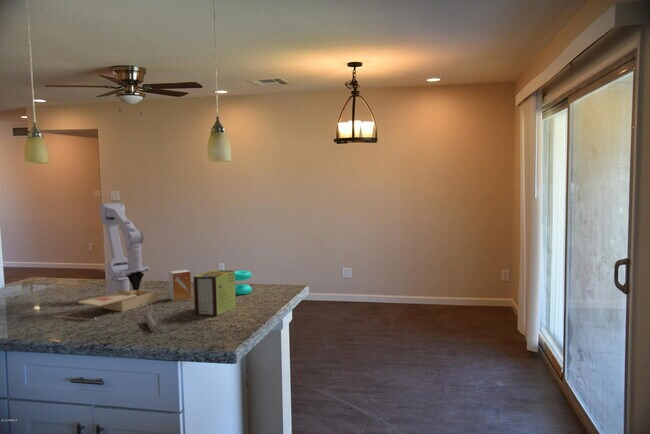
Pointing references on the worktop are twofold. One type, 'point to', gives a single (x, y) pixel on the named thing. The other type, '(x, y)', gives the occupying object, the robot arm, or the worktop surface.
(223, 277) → the protein box
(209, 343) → the worktop surface
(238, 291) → the donuts
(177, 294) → the small box
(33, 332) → the worktop surface
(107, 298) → the lid
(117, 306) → the wooden box
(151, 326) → the kitchen whisk
